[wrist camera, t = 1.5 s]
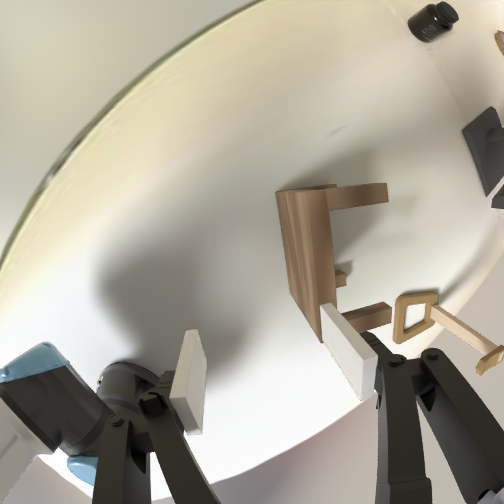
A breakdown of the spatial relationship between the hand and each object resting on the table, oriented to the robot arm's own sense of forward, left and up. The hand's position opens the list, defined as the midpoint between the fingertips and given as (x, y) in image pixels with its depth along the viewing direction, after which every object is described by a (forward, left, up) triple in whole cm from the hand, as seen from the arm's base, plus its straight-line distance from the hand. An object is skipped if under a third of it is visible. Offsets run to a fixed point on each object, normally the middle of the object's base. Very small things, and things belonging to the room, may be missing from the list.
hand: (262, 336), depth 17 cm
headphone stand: (+32, -19, -26) cm, 45 cm away
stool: (+11, 0, -25) cm, 28 cm away
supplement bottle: (+45, +41, -26) cm, 66 cm away
